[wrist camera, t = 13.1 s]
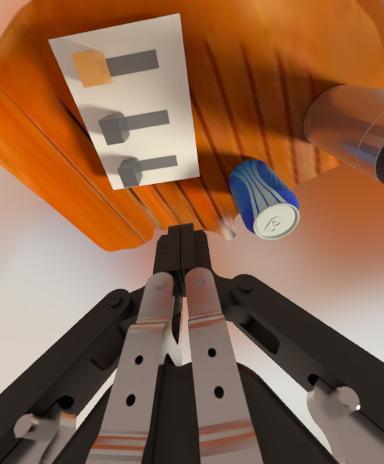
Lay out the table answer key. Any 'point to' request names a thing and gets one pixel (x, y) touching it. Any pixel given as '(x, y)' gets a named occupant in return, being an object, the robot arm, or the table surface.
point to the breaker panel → (137, 97)
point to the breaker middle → (114, 129)
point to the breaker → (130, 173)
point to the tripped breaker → (92, 68)
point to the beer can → (263, 200)
